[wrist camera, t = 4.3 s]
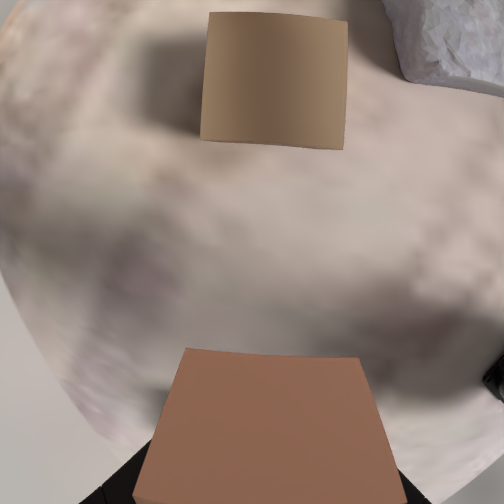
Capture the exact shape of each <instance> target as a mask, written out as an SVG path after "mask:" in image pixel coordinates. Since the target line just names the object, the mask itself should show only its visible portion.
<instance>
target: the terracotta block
mask: <svg viewBox="0 0 504 504" xmlns="http://www.w3.org/2000/svg"><path fill="white" fill-rule="evenodd" d="M132 496H133V498H134V500H135V502H136V504H406V503H407V499H406V496H405V492H404V489H403V486H402V482H401V479H400V476H399V473H398V469H397V466H396V463H395V460H394V457H393V454H392V451H391V448H390V445H389V442H388V439H387V436H386V433H385V430H384V427H383V424H382V421H381V418H380V415H379V412H378V409H377V407H376V404H375V401H374V398H373V395H372V393H371V390H370V387H369V385H368V382H367V379H366V376H365V374H364V371H363V368H362V366H361V363H360V360H359V358H358V357H298V356H276V355H259V354H245V353H232V352H221V351H210V350H201V349H191V348H186V349H185V352H184V355H183V357H182V360H181V362H180V365H179V368H178V370H177V373H176V376H175V378H174V381H173V384H172V386H171V389H170V392H169V394H168V397H167V400H166V402H165V405H164V408H163V411H162V413H161V416H160V419H159V421H158V424H157V427H156V430H155V432H154V435H153V438H152V441H151V443H150V446H149V449H148V452H147V455H146V457H145V460H144V463H143V466H142V469H141V472H140V474H139V477H138V480H137V483H136V486H135V489H134V492H133V495H132Z"/></svg>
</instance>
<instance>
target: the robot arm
mask: <svg viewBox="0 0 504 504" xmlns="http://www.w3.org/2000/svg"><path fill="white" fill-rule="evenodd" d="M482 381H483V383H484V384H485V385H486V386H487V387H488V388H489V389H490V390H491V391H492V392H493V393H494V394H495V395H496V396H497V397H498V398H499V399H500V400H501V401H502V402H503V403H504V355H503V356H502V357H501V358H500V359H499V361H498V362H497V363H496V364H495V365H494V366H493V367H492V368H491V369H490V370H489V371H488V372H487V373H486V375H485V376H484V377H483V379H482ZM151 441H152V439H151V440H150V441H149V442H148V443H147V444H146V445H144V446H143V447H142V448H141V449H140V450H139V451H138V452H137V453H136V454H135V455H134V456H133V457H132V458H131V459H130V460H128V461H127V462H126V463H125V464H124V465H123V466H122V467H121V468H120V469H119V470H118V471H117V472H115V473H114V474H113V475H112V476H111V477H110V478H109V479H108V480H106V481H105V482H104V483H103V484H102V486H99V487H98V488H97V489H96V490H95V491H94V492H93V493H92V494H90V495H89V496H88V497H87V498H86V499H84V500H83V501H82V502H80V503H79V504H136V502H135V500H134V498H133V496H132V495H133V492H134V489H135V486H136V483H137V480H138V477H139V474H140V472H141V469H142V466H143V463H144V460H145V457H146V455H147V452H148V449H149V446H150V443H151ZM397 469H398V468H397ZM398 473H399V476H400V479H401V482H402V486H403V489H404V492H405V496H406V499H407V503H406V504H432V503H431V502H430V501H429V500H428V499H427V498H425V496H424V495H423V494H422V493H421V492H420V491H419V490H418V489H417V488H416V487H415V486H414V485H413V484H412V483H411V482H410V481H409V480H408V479H407V478H406V477H405V476H404V474H403V473H402V472H401V471H400V470H399V469H398Z"/></svg>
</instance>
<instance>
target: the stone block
mask: <svg viewBox="0 0 504 504" xmlns="http://www.w3.org/2000/svg"><path fill="white" fill-rule="evenodd" d="M381 1H382V3H383V5H384V7H385V10H386V11H385V12H386V14H387V16H388V17H389V19H390V21H391V23H392V29H393V38H394V45H395V48H396V51H397V55H398V59H399V62H400V68H401V71H402V74H403V76H404V78H405V79H407V80H408V81H410V82H412V83H415V84H424V85H432V86H442V87H448V88H455V89H463V90H468V91H473V92H478V93H484V94H489V95H494V96H499V97H504V0H381Z"/></svg>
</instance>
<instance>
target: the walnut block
mask: <svg viewBox="0 0 504 504" xmlns="http://www.w3.org/2000/svg"><path fill="white" fill-rule="evenodd" d="M347 66H348V22H345V21H339V20H332V19H326V18H319V17H311V16H302V15H291V14H279V13H262V12H210V14H209V23H208V33H207V44H206V55H205V67H204V80H203V94H202V109H201V127H200V140H205V141H214V142H226V143H249V144H265V145H280V146H292V147H303V148H313V149H331V150H343V145H344V131H345V115H346V95H347Z"/></svg>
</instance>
